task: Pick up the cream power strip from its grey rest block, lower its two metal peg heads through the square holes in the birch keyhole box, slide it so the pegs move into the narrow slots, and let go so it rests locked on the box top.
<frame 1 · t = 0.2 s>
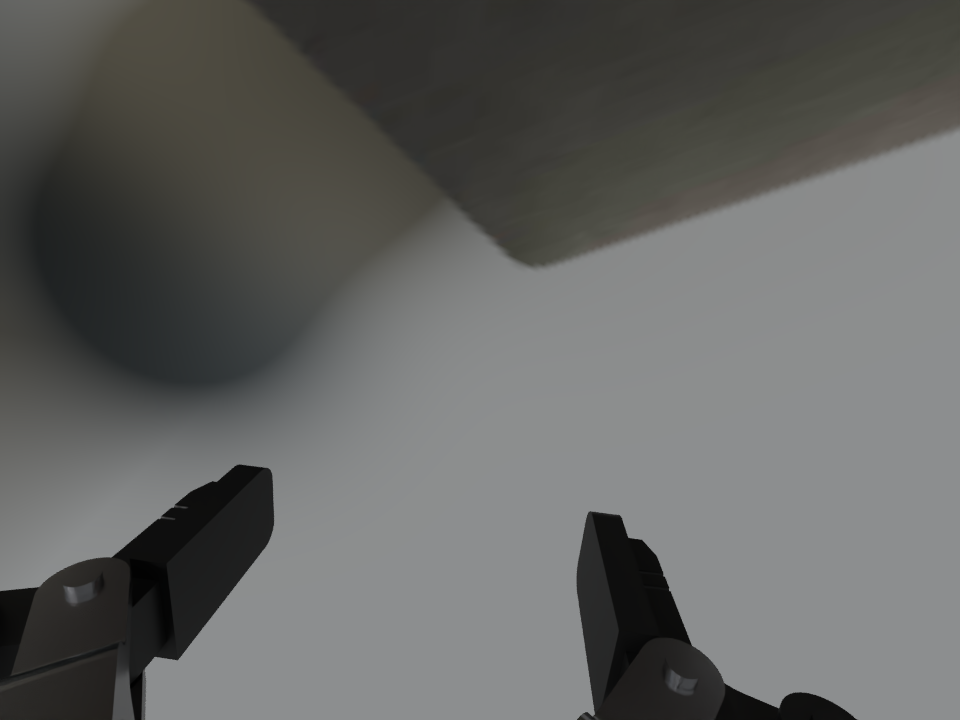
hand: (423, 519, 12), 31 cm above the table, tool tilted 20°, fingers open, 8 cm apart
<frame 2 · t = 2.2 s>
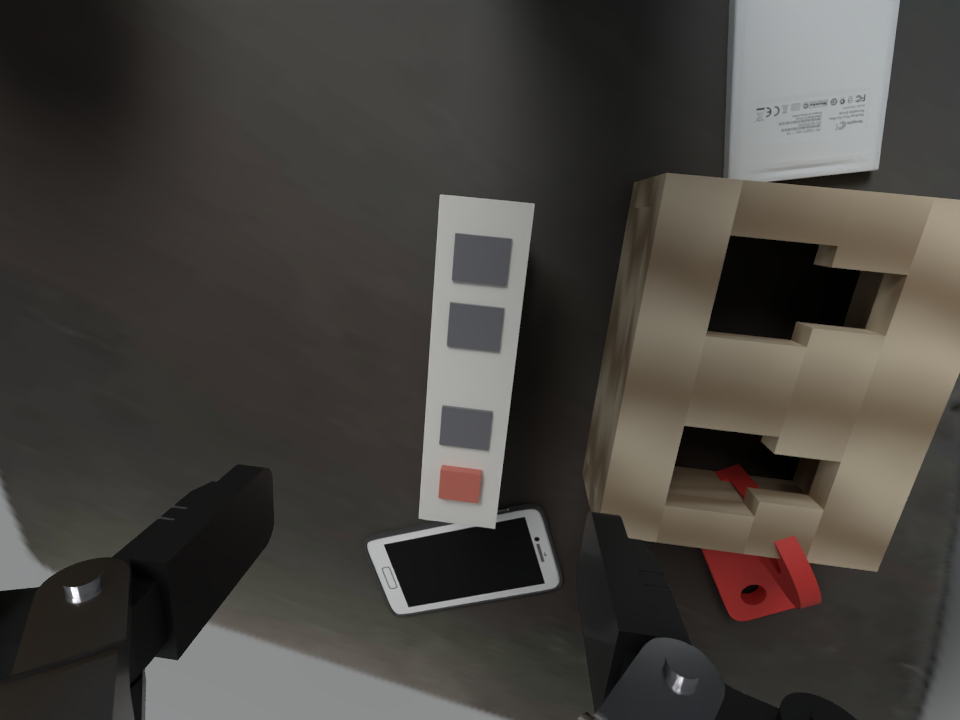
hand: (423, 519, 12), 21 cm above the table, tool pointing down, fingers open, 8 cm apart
power strip: (484, 335, 31), point 2 cm above the table, touching rest block
bracket: (731, 540, 36), on the table, touching keyhole box
cell phone: (464, 555, 39), on the table
external hard drive: (796, 64, 27), on the table
keyhole box: (727, 354, 32), on the table
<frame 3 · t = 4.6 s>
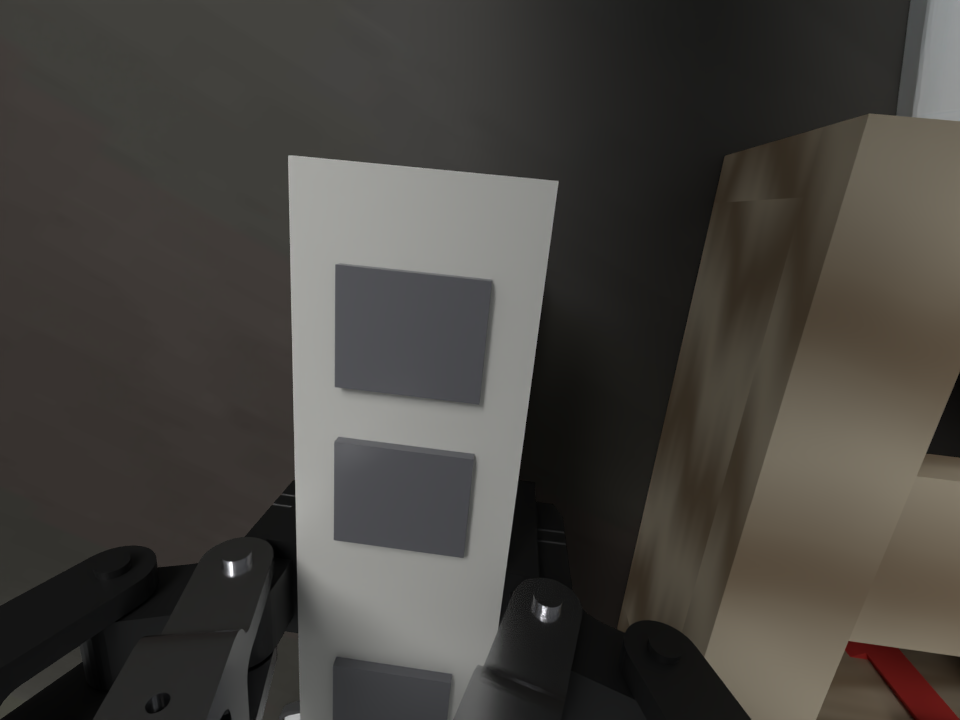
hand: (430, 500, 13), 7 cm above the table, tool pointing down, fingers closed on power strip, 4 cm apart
power strip: (455, 424, 17), point 2 cm above the table, touching gripper, rest block
keyhole box: (872, 454, 19), on the table
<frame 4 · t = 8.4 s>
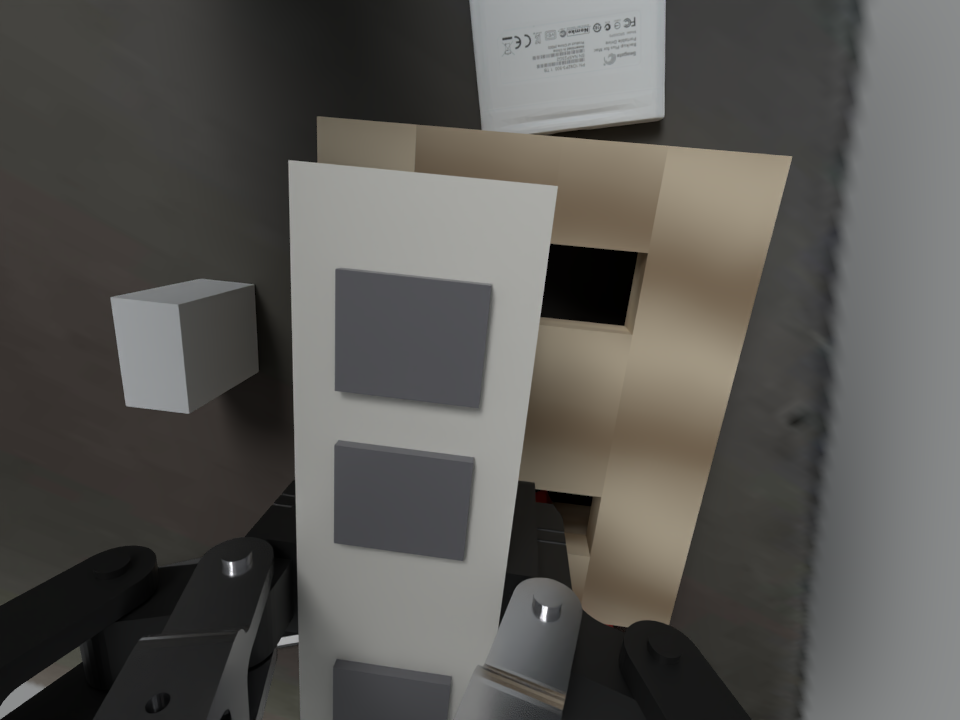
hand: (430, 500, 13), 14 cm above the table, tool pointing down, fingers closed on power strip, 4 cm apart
power strip: (455, 426, 17), point 9 cm above the table, touching gripper
rest block: (230, 326, 27), on the table
cell phone: (254, 592, 33), on the table
keyhole box: (517, 358, 26), on the table
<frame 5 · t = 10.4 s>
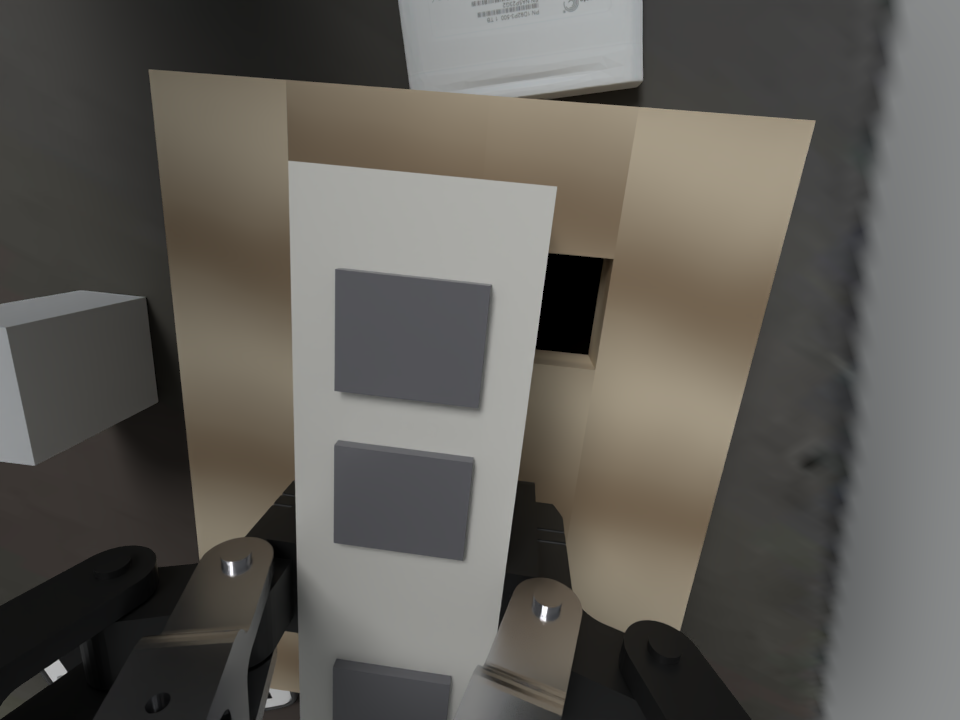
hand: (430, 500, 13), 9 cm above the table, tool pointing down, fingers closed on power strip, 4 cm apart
power strip: (454, 426, 18), point 4 cm above the table, touching gripper
rest block: (120, 347, 22), on the table
cell phone: (172, 656, 28), on the table
keyhole box: (467, 386, 21), on the table
when the fingers open (8 cm above the table, at t = 12.1 s): power strip stays where it is, resting on keyhole box.
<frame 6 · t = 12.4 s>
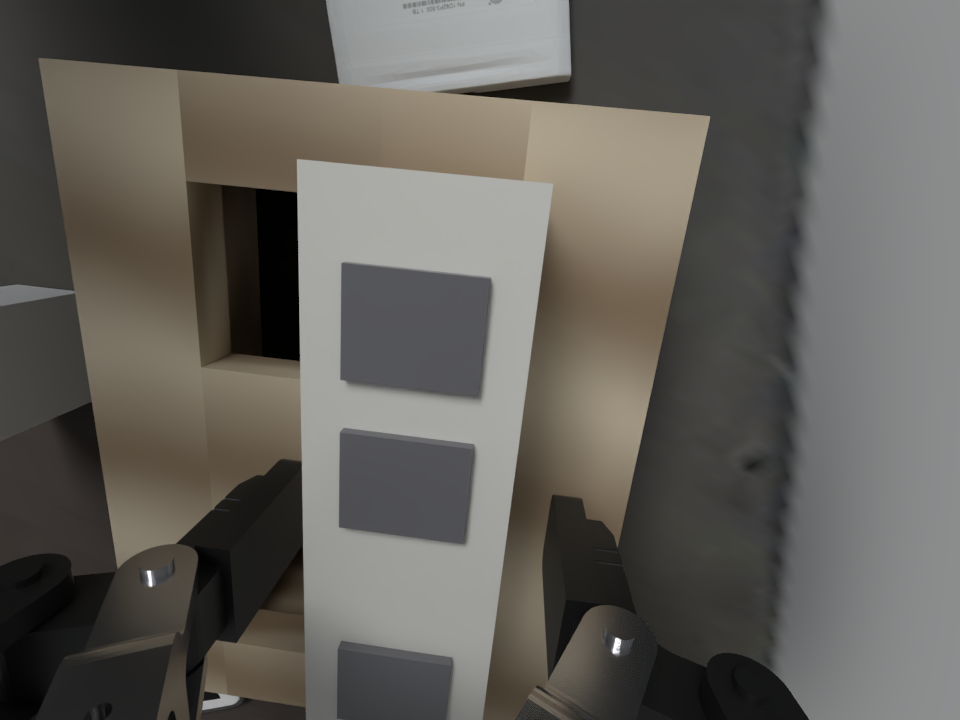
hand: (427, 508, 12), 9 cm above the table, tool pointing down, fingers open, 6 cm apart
power strip: (455, 420, 18), point 3 cm above the table, touching keyhole box
rest block: (59, 343, 22), on the table
cell phone: (122, 655, 28), on the table
keyhole box: (408, 385, 21), on the table
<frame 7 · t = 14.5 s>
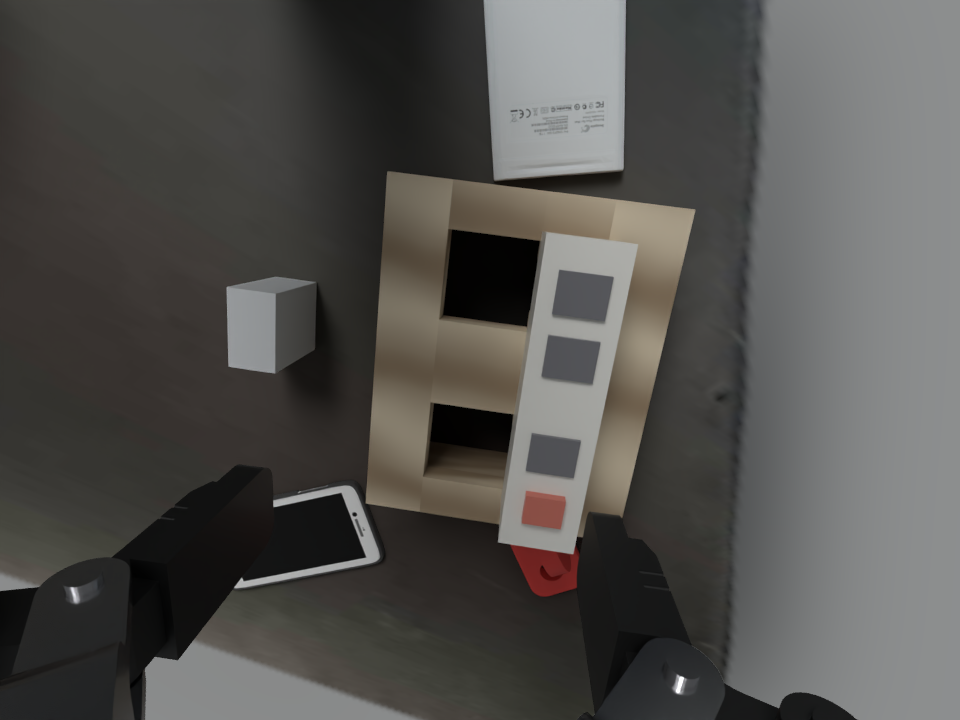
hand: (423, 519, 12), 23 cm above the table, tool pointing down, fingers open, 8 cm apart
power strip: (550, 360, 31), point 3 cm above the table, touching keyhole box
rest block: (295, 313, 35), on the table
bracket: (534, 519, 38), on the table, touching keyhole box
cell phone: (295, 531, 41), on the table
external hard drive: (553, 72, 30), on the table
keyhole box: (513, 344, 34), on the table
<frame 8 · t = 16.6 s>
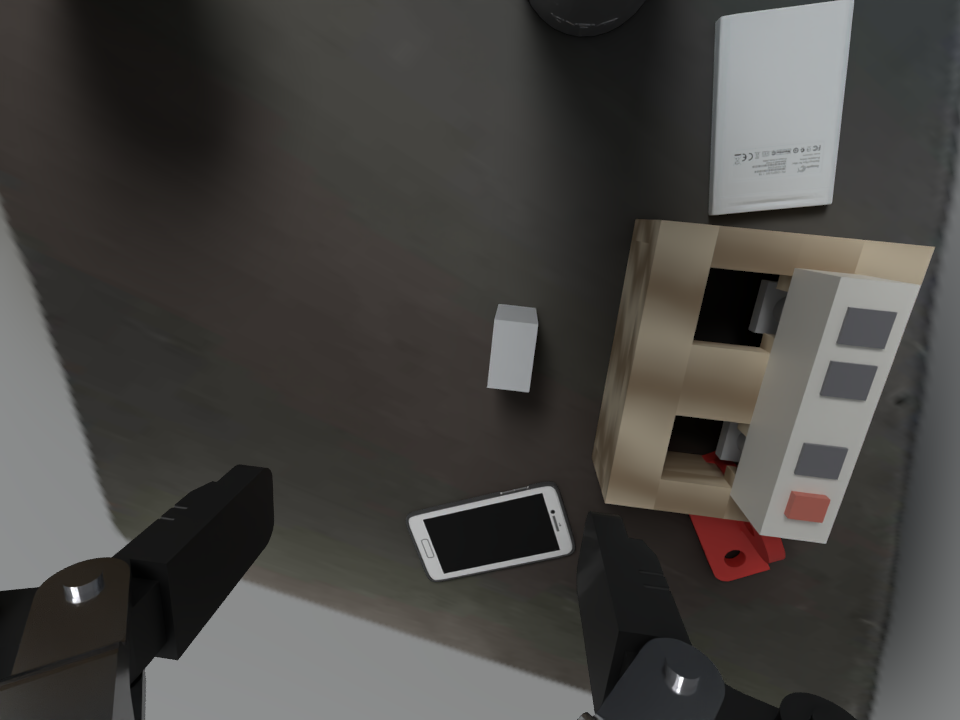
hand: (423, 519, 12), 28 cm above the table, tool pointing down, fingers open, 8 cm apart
power strip: (762, 374, 35), point 3 cm above the table, touching keyhole box
rest block: (513, 336, 39), on the table
bracket: (716, 513, 42), on the table, touching keyhole box
cell phone: (490, 527, 46), on the table
external hard drive: (767, 118, 34), on the table
keyhole box: (712, 358, 38), on the table
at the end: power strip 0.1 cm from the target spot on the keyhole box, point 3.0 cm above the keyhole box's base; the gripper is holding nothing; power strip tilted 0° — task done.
